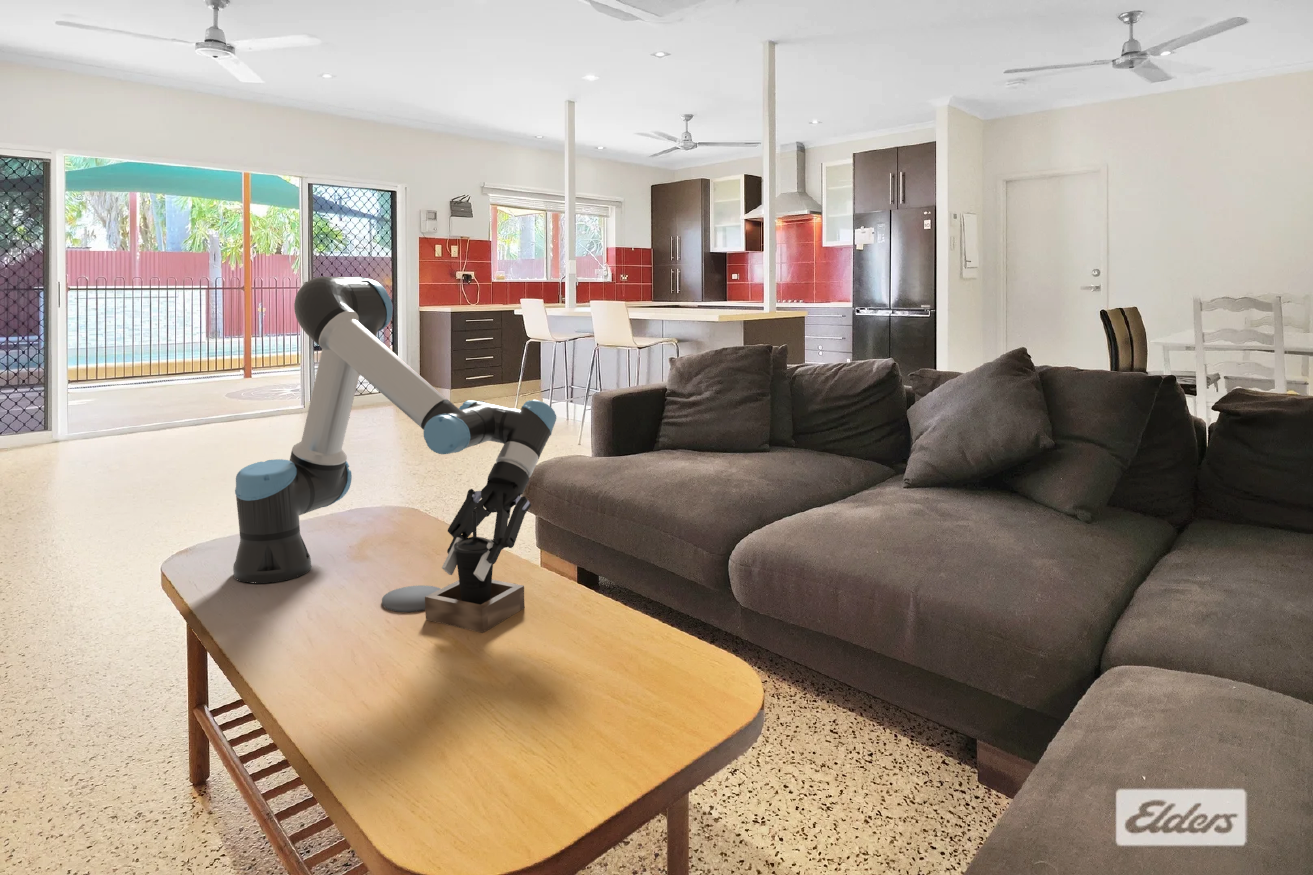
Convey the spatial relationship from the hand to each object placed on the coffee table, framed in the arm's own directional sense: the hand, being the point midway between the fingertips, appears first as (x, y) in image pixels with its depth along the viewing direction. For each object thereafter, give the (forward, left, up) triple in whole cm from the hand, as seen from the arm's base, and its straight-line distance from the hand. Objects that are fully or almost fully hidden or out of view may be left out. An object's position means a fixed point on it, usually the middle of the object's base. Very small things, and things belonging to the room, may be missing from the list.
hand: (462, 574), depth 151 cm
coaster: (-15, +4, -9) cm, 18 cm away
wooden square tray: (0, +4, -9) cm, 10 cm away
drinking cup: (0, +4, -9) cm, 10 cm away
